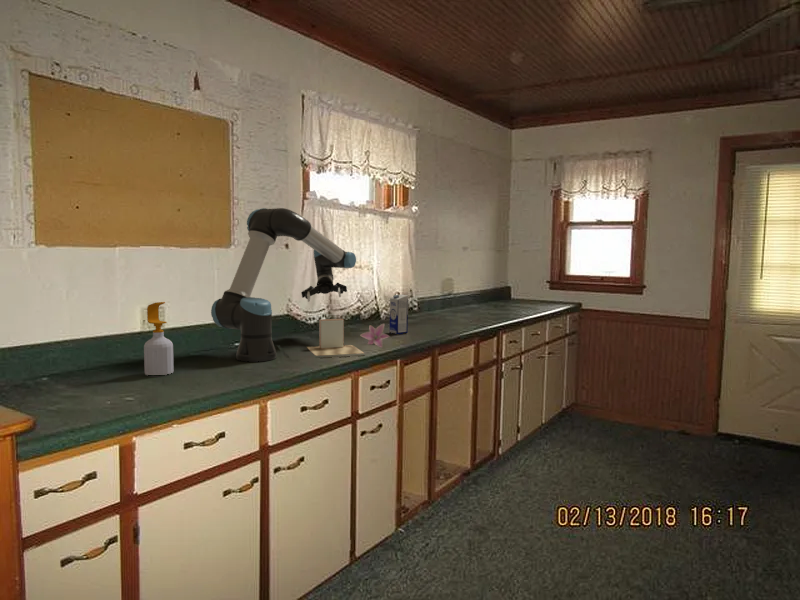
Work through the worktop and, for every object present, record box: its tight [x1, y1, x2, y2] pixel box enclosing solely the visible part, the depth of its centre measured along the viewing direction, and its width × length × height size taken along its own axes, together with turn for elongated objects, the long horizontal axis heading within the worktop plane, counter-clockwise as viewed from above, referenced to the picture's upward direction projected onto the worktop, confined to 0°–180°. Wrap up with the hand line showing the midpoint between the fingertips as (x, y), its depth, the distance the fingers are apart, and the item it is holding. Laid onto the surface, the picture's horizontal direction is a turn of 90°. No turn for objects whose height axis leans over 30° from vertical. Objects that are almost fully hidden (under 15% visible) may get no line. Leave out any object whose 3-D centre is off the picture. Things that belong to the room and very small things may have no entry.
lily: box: [359, 323, 391, 349], centre depth 250 cm, size 12×12×10 cm
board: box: [306, 344, 365, 359], centre depth 233 cm, size 20×20×1 cm
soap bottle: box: [143, 301, 175, 376], centre depth 190 cm, size 9×9×25 cm
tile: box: [318, 318, 345, 349], centre depth 238 cm, size 10×3×12 cm, turn 110°
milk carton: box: [389, 293, 409, 335], centre depth 288 cm, size 7×7×20 cm
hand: (323, 296), depth 243 cm, fingers open, 13 cm apart
